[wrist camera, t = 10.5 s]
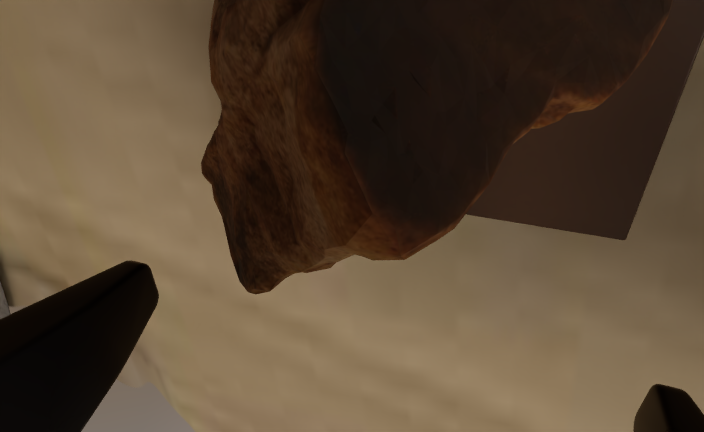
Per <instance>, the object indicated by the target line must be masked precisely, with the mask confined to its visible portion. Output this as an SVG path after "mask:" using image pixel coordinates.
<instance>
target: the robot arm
mask: <svg viewBox="0 0 704 432" xmlns="http://www.w3.org/2000/svg"><path fill="white" fill-rule="evenodd" d="M158 298H159V294H158V290H157V287H156V284H155V281H154V278H153V274H152V271H151V269H150V267H149V266H148V265H147V264H144V263H140V262H136V261H125V262H123V263H120V264H118V265H116V266H114V267H112V268H110V269H107V270H105V271H103V272H101V273H99V274H97V275H95V276H92V277H90V278H88V279H86V280H84V281H82V282H79V283H77V284H75V285H73V286H71V287H69V288H67V289H64V290H62V291H60V292H58V293H56V294H54V295H51V296H49V297H47V298H45V299H43V300H41V301H39V302H36V303H34V304H32V305H30V306H28V307H26V308H23V309H21V310H19V311H17V312H15V313H13V314H10V315H8V316H6V317H4V318H2V319H0V432H81V431H82V429H83V428H84V426H85V425H86V423H87V422H88V421H89V419H90V418H91V416H92V415H93V413H94V412H95V410H96V409H97V407H98V406H99V404H100V403H101V401H102V400H103V398H104V397H105V395H106V394H107V392H108V391H109V389H110V388H111V386H112V385H113V383H114V382H115V380H116V379H117V377H118V375H119V374H120V372H121V371H122V369H123V367H124V365H125V364H126V362H127V360H128V358H129V356H130V354H131V353H132V351H133V349H134V347H135V345H136V343H137V341H138V340H139V338H140V336H141V334H142V332H143V330H144V328H145V326H146V325H147V323H148V321H149V319H150V317H151V315H152V313H153V312H154V310H155V308H156V306H157V303H158ZM634 432H704V414H703V413H702V412H701V410H700V409H699V408H698V406H697V405H696V404H695V402H694V401H693V400H692V398H691V397H690V396H689V395H688V394H687V393H686V392H685V391H683V390H681V389H678V388H674V387H670V386H665V385H661V384H655V385H653V386H652V387H651V389H650V390H649V392H648V394H647V395H646V397H645V399H644V401H643V403H642V404H641V406H640V408H639V410H638V412H637V414H636V416H635V420H634Z"/></svg>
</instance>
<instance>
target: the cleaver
mask: <svg viewBox="0 0 704 432" xmlns="http://www.w3.org/2000/svg"><path fill="white" fill-rule="evenodd" d="M8 315H10V311H9V307H8V303H7V300H6V297H5V294H4V291H3V288H2V285H1V282H0V319H2V318H4V317H6V316H8Z"/></svg>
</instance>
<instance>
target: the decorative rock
mask: <svg viewBox="0 0 704 432" xmlns="http://www.w3.org/2000/svg"><path fill="white" fill-rule="evenodd" d="M672 2H673V0H214V6H213V13H212V20H211V29H210V38H209V59H210V71H211V82H212V84H213V86H214V89H215V91H216V93H217V95H218V97H219V99H220V101H221V105H222V112H221V116H220V119H219V125H218V126H217V128H216V130H215V131H214V134H213V136H212V138H211V140H210V142H209V144H208V145H207V148H206V150H205V153H204V156H203V159H202V162H201V166H202V174H203V175H204V177H205V178H206V179H207V180H208V181H209V182H210V183H211V184H212V189H213V196H214V201H215V203H216V205H217V207H218V209H219V211H220V213H221V216H222V219H223V223H224V227H225V231H226V236H227V240H228V245H229V249H230V254H231V257H232V260H233V263H234V266H235V269H236V272H237V275H238V278H239V281H240V282H241V284H242V285H243V286H244V287H245V289H246V290H247V291H248V292H249V293H253V294H259V293H264V292H269V291H271V290H272V289H273V288H275V287H276V286H277V285H278V284H279V283H280V282H282V281H283V280H284V279H285V278H287V277H289V276H290V275H292V274H294V273H300V272H304V273H308V272H313V271H318V270H323V269H328V268H331V267H332V266H333V265H334V264H335V263H336V262H338V261H341V260H343V259H345V258H347V257H350V256H352V255H354V254H355V255H360V256H363V257H366V258H368V259H371V260H405V259H407V258H408V257H410V256H412V255H413V254H415V253H417V252H418V251H420V250H422V249H423V248H425V247H427V246H428V245H430V244H432V243H433V242H435V241H437V240H438V239H440V238H441V237H443V236H444V235H446V234H447V233H448V232H450V231H451V230H453V229H454V228H455V227H456V225H457V224H458V223H459V222H460V220H461V219H462V218H463V217H464V215H465V214H466V213H467V212H468V210H469V209H470V208H471V207H472V205H473V204H474V203H475V202H476V200H477V199H478V198H479V197H480V195H481V194H482V193H483V192H484V190H485V189H486V188H487V187H488V185H489V184H490V182H491V180H492V179H493V177H494V175H495V173H496V171H497V170H498V168H499V166H500V164H501V162H502V161H503V159H504V157H505V155H506V154H507V152H508V150H509V149H510V147H511V146H512V144H513V143H515V142H516V141H517V140H518V139H520V138H521V137H522V136H524V135H525V134H526V133H528V132H529V131H530V129H534V128H542V127H544V126H547V125H549V124H552V123H555V122H557V121H559V120H561V119H562V118H563V117H564V116H565V115H566V114H568V113H574V112H580V111H586V110H592V109H594V108H596V107H597V106H599V105H600V104H602V103H603V102H604V101H605V100H606V99H607V98H608V97H610V96H611V95H612V94H613V93H614V92H615V91H616V90H617V89H619V88H620V87H621V86H622V85H623V84H624V83H625V82H626V81H627V80H628V79H629V77H630V76H631V75H632V73H633V72H634V71H635V70H636V68H637V67H638V66H639V64H640V63H641V62H642V61H643V59H644V58H645V57H646V55H647V54H648V52H649V50H650V48H651V46H652V45H653V43H654V41H655V39H656V38H657V36H658V34H659V32H660V31H661V29H662V27H663V25H664V24H665V22H666V20H667V18H668V15H669V12H670V9H671V5H672Z"/></svg>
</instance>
